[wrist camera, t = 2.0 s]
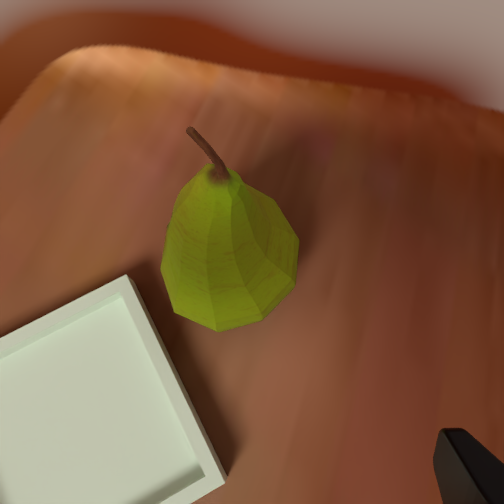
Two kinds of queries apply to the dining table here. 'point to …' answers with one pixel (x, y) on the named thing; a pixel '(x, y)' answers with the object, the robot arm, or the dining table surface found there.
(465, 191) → the dining table surface
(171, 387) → the tray
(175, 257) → the fruit
